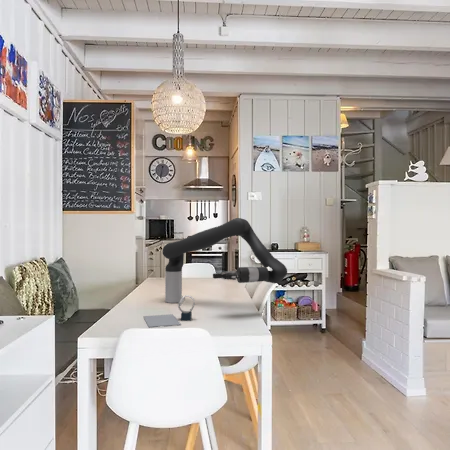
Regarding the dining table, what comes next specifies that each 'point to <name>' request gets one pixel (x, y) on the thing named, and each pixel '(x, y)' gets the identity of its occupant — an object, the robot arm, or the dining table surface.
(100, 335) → the dining table surface
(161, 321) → the mat
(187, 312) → the watch
